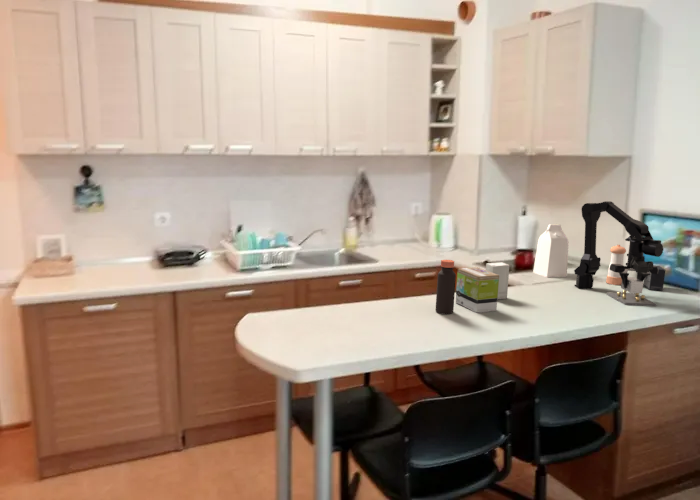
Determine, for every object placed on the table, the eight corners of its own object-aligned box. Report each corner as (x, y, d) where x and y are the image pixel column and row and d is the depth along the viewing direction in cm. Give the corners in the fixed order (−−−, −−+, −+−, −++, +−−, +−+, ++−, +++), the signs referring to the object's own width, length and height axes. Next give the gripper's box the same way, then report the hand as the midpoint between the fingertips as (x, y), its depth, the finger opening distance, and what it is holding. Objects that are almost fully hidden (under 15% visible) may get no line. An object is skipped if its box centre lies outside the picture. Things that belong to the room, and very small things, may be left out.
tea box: (454, 303, 241) (456, 267, 239) (474, 301, 245) (477, 266, 243) (476, 313, 228) (478, 275, 225) (497, 311, 232) (500, 274, 229)
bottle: (449, 315, 223) (452, 263, 219) (432, 312, 226) (435, 260, 223) (456, 311, 229) (459, 260, 225) (439, 308, 232) (442, 258, 229)
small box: (663, 291, 277) (666, 269, 275) (648, 290, 278) (651, 268, 277) (656, 286, 287) (659, 265, 285) (642, 285, 289) (645, 264, 287)
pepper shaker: (606, 283, 288) (610, 245, 285) (605, 281, 295) (610, 243, 292) (622, 285, 286) (627, 246, 282) (622, 282, 292) (626, 244, 289)
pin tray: (625, 304, 249) (625, 298, 248) (606, 294, 266) (607, 288, 266) (655, 305, 249) (656, 299, 248) (635, 295, 267) (635, 289, 266)
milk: (552, 271, 313) (557, 222, 309) (566, 276, 303) (571, 225, 298) (533, 272, 310) (537, 223, 305) (546, 277, 299) (551, 226, 294)
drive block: (630, 292, 253) (631, 281, 252) (620, 287, 261) (622, 276, 261) (641, 293, 253) (643, 281, 252) (632, 288, 261) (633, 277, 261)
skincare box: (499, 295, 257) (502, 261, 254) (507, 299, 251) (510, 264, 249) (482, 296, 254) (485, 262, 251) (490, 300, 248) (493, 265, 246)
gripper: (623, 255, 246) (618, 292, 249) (667, 256, 246) (662, 293, 249) (611, 250, 257) (607, 285, 260) (653, 252, 257) (649, 287, 260)
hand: (631, 288), depth 257 cm, fingers closed on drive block, 5 cm apart
